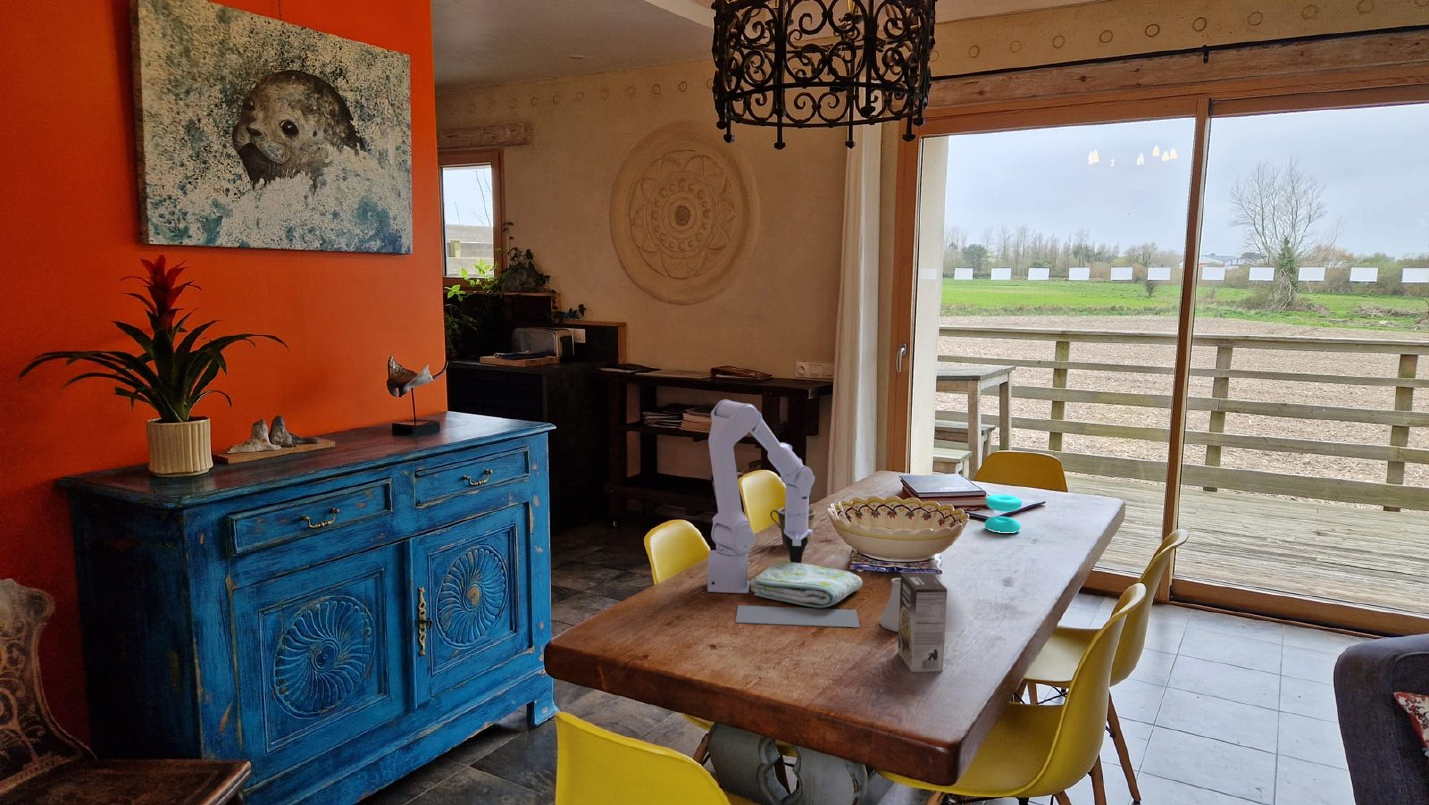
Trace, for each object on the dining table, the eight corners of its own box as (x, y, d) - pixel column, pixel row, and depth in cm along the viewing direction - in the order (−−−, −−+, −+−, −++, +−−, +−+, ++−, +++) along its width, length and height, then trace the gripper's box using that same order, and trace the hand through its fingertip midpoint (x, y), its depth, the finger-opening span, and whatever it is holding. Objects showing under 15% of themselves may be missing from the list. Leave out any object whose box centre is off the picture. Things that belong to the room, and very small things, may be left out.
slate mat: (735, 623, 190) (735, 622, 190) (737, 606, 200) (737, 605, 200) (859, 628, 188) (859, 627, 188) (856, 610, 198) (856, 610, 198)
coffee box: (896, 652, 176) (899, 572, 174) (928, 652, 177) (932, 572, 175) (910, 672, 167) (913, 588, 165) (944, 671, 168) (948, 588, 166)
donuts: (981, 493, 269) (1015, 493, 269) (980, 525, 270) (1013, 526, 270) (991, 501, 259) (1026, 501, 259) (990, 535, 260) (1024, 535, 260)
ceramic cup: (820, 545, 248) (821, 509, 246) (803, 554, 239) (804, 517, 238) (778, 537, 254) (779, 503, 253) (761, 546, 246) (761, 510, 245)
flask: (894, 635, 185) (896, 588, 184) (873, 623, 191) (874, 577, 190) (922, 629, 188) (924, 583, 187) (900, 617, 195) (902, 573, 193)
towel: (781, 575, 222) (782, 555, 221) (863, 590, 211) (864, 569, 211) (746, 596, 206) (747, 574, 206) (833, 613, 196) (834, 591, 195)
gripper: (814, 520, 214) (812, 576, 216) (812, 505, 228) (810, 557, 230) (784, 519, 214) (783, 575, 216) (784, 504, 229) (783, 556, 230)
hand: (795, 566), depth 223 cm, fingers closed
